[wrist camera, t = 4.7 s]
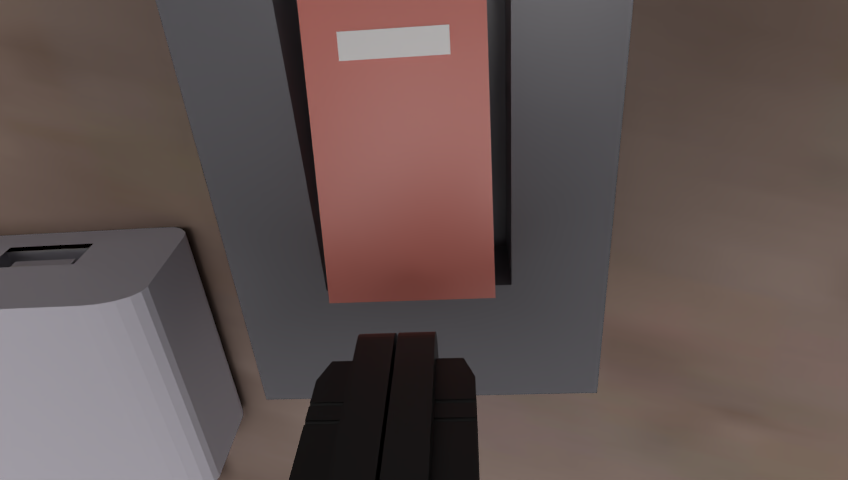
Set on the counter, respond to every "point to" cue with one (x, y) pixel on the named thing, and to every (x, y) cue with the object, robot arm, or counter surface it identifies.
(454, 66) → the block
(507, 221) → the power strip
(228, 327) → the counter surface
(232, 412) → the charger
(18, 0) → the counter surface
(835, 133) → the counter surface
